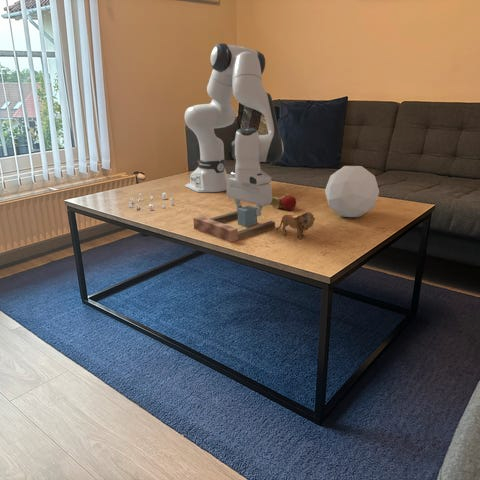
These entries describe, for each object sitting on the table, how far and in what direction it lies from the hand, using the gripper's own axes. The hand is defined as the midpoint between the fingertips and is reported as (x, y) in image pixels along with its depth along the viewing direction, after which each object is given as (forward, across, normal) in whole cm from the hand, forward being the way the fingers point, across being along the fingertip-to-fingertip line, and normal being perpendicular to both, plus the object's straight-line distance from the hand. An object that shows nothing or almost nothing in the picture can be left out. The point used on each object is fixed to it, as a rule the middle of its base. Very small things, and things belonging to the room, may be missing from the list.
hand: (248, 213), depth 166 cm
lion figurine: (+5, +20, +2) cm, 21 cm away
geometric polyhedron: (+4, +21, +34) cm, 40 cm away
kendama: (+4, -8, +24) cm, 26 cm away
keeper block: (+4, 0, 0) cm, 4 cm away
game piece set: (+4, -50, -10) cm, 51 cm away
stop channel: (+4, -1, -7) cm, 8 cm away
